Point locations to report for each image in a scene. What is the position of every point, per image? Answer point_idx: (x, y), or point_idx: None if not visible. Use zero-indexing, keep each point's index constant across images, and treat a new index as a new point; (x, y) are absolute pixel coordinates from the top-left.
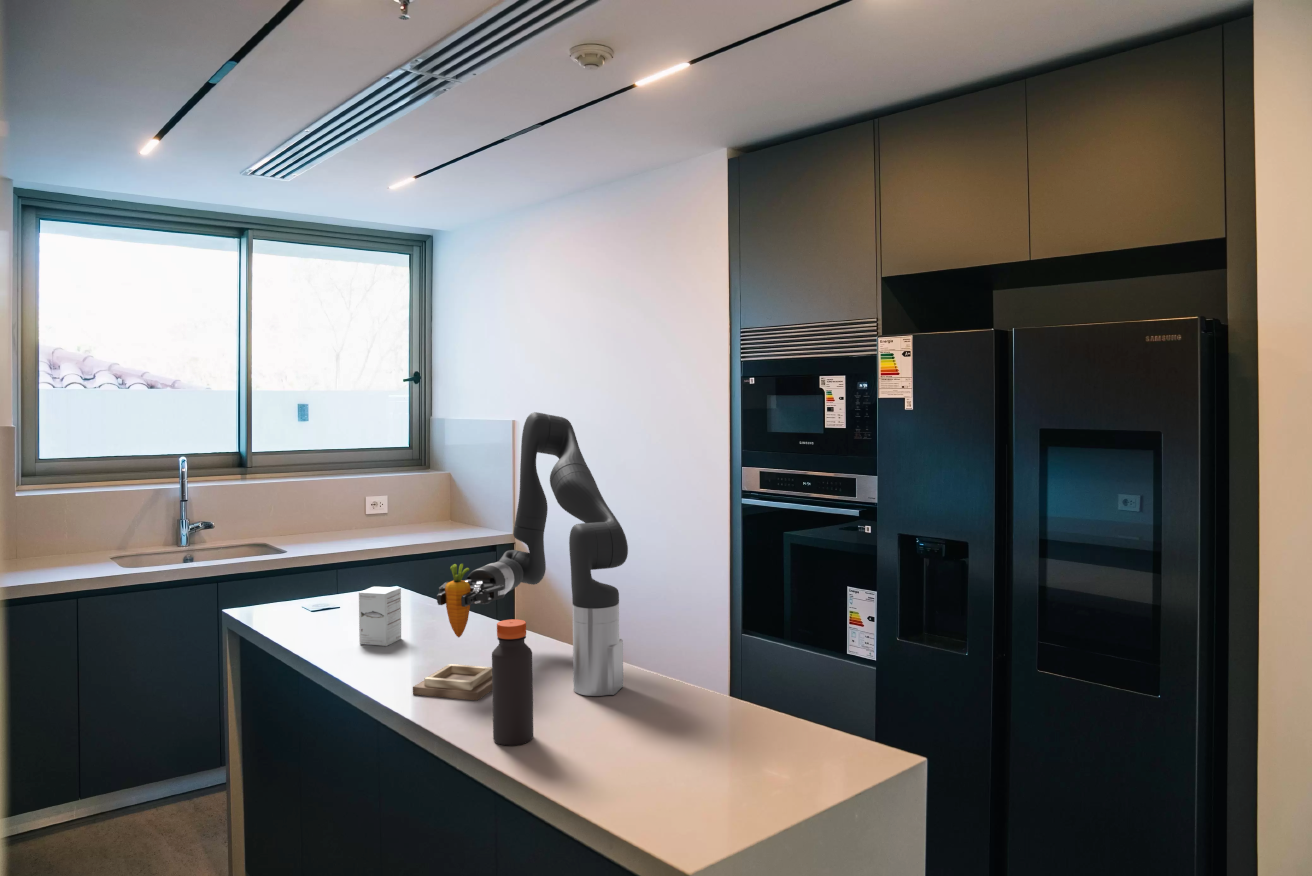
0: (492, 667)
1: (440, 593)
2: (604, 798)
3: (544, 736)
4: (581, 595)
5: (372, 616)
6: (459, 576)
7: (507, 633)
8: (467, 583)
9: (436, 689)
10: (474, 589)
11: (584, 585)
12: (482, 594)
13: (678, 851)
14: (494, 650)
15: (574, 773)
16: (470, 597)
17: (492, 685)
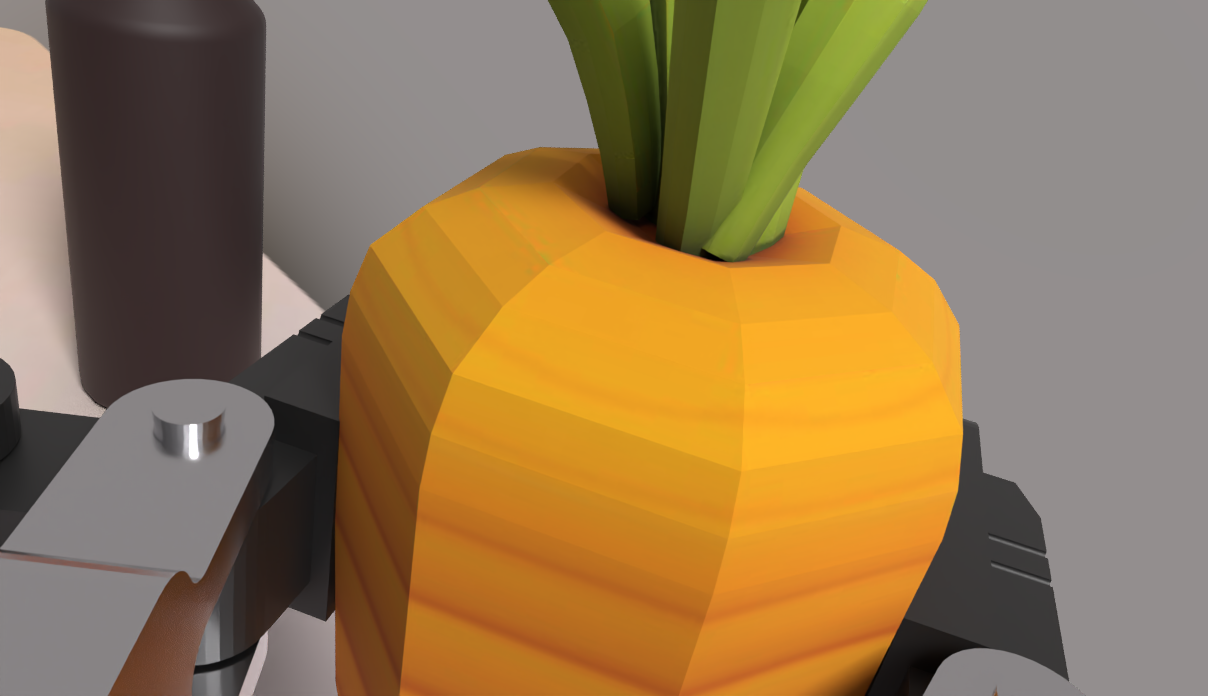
0: (264, 77)
1: (967, 446)
2: (40, 132)
3: (31, 369)
4: None
5: None
6: (661, 40)
7: None
8: (424, 212)
9: None
10: (198, 529)
11: None
12: (35, 424)
13: (3, 42)
14: (251, 2)
15: (55, 200)
16: (345, 301)
17: (263, 163)
